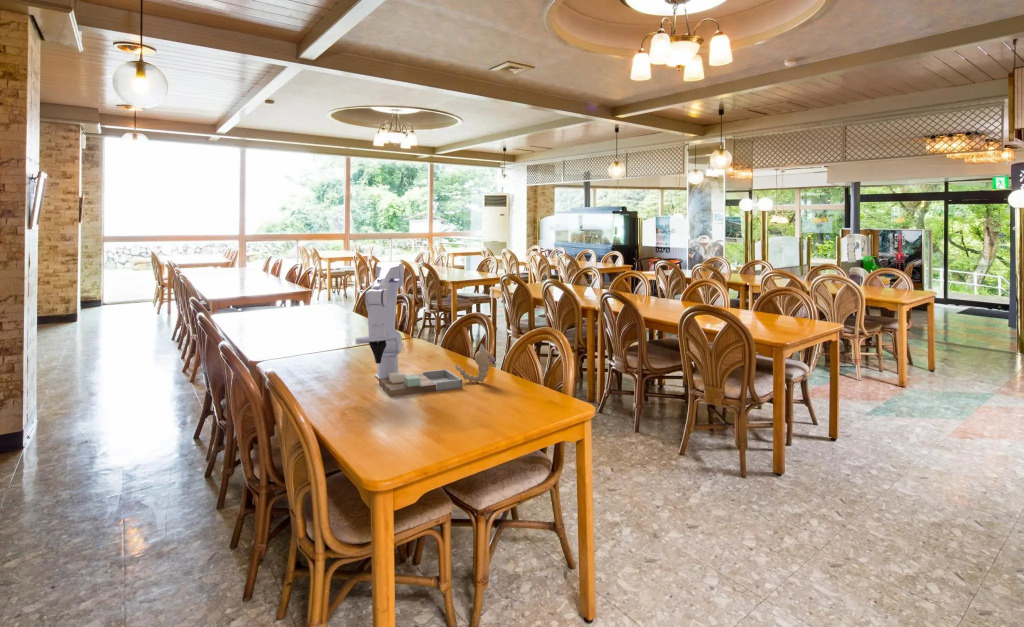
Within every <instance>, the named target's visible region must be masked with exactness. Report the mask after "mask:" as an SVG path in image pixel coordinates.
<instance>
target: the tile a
mask: <svg viewBox="0 0 1024 627" xmlns="http://www.w3.org/2000/svg"><path fill="white" fill-rule="evenodd" d="M404 376H405V373H404V372H403V371H398V372H394V373H389V380H390V381H391V382H392V383H399V382H404Z"/></svg>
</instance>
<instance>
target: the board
mask: <svg viewBox="0 0 1024 627" xmlns="http://www.w3.org/2000/svg"><path fill="white" fill-rule="evenodd" d="M413 375H417V376H418V377H420V384H421V385H420V386H411V387H407V386H406V385H405V384H404V382H399V383H392V382H391V381H390V380H389V377H386V378H379V379H378V385H379V386H380V387H381V388H382V390H383V391H384V392H385V393H386V394H387V395H388V396H389V397H390V398H393V397H394V396H395V397H401V396H409V395H419V394H425V393H434V392H437V390H436V384H435V383H434V382H432V381H431V380H430V379H428V378H427V377H426V376H424V375H423V373H414V374H406V375H405V376H413Z"/></svg>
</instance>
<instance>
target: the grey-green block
mask: <svg viewBox="0 0 1024 627" xmlns="http://www.w3.org/2000/svg"><path fill="white" fill-rule="evenodd" d="M412 375H413V374H412ZM404 384H405V385H406V386H407V387H411V386H420V385H421V384H420V377H418V376H417V375H413V376H404Z"/></svg>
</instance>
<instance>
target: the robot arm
mask: <svg viewBox="0 0 1024 627" xmlns="http://www.w3.org/2000/svg"><path fill="white" fill-rule="evenodd" d="M375 276H376V279H375V280H374V281H373V283H372V285H371V287H370V289H368V290H366V291H365V294H364V303H365V306H366V312H367V323H368V324H367V325H368V335H367V336H362V337H355V344H356V345H362V344H368V345H369V347H370V349H371V351H372V353H373V358H374V362H375V363H376V364H377V373H375V374H374V376H375V377H376V378H377V379H378V380H379V378H386V377H389V373H394V372H399V355H400V354H401V352H402V349H403V342H402V341H403V340H402V338H403V337H402V334H401V332H400V331H398V330H397V329H396V317H397V315H396V314H397V305H398V304H397V300H398V293H399V289H400V287H403V285H404V278H405V266H404V263H403V262H401V261H400V262H379V261H378V262H377V263H376V265H375Z"/></svg>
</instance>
